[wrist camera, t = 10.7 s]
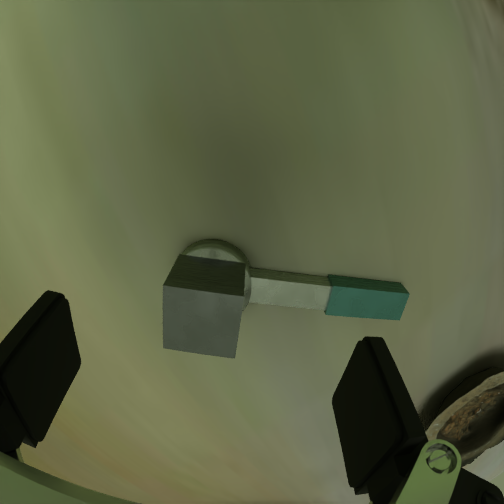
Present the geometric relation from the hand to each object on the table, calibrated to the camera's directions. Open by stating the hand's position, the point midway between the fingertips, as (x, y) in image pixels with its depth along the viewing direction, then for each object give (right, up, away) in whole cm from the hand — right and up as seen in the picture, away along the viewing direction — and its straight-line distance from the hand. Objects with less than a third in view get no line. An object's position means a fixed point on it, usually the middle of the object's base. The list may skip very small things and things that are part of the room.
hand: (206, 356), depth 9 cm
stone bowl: (+40, -23, +34) cm, 58 cm away
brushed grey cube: (-3, 0, +21) cm, 22 cm away
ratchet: (+6, 0, +25) cm, 25 cm away
